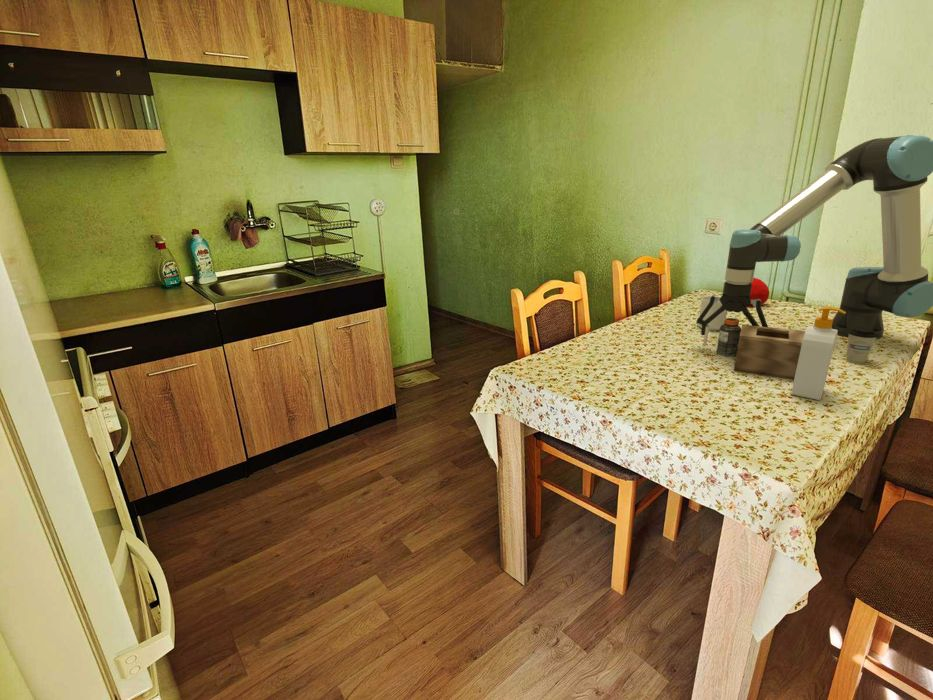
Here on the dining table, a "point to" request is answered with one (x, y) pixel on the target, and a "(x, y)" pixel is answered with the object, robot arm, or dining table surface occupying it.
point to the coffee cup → (860, 344)
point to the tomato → (759, 291)
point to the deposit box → (768, 351)
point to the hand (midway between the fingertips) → (727, 347)
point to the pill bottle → (729, 337)
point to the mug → (717, 321)
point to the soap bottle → (815, 357)
